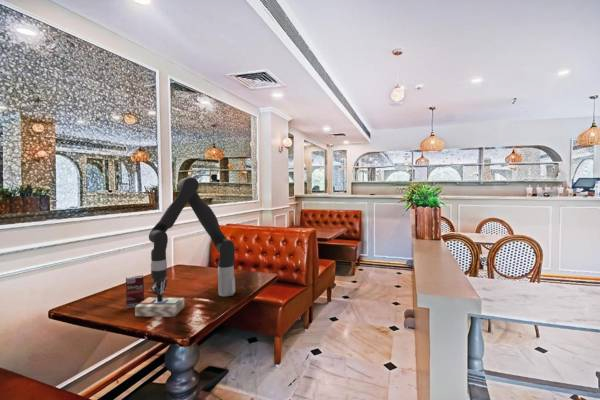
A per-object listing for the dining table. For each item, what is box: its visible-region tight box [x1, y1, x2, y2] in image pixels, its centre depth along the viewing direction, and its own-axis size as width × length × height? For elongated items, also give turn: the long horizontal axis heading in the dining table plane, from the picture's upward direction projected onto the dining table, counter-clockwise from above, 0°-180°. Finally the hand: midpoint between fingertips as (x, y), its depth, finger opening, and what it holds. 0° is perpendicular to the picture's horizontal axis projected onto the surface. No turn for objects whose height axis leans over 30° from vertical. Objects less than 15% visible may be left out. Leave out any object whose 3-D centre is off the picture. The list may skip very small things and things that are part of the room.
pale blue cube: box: [153, 299, 168, 304], centre depth 157 cm, size 5×5×4 cm
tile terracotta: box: [141, 298, 156, 304], centre depth 157 cm, size 5×5×4 cm
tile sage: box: [165, 299, 179, 305], centre depth 156 cm, size 5×5×4 cm
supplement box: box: [125, 274, 145, 309], centre depth 164 cm, size 9×5×16 cm, turn 121°
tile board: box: [134, 297, 185, 318], centre depth 157 cm, size 20×12×5 cm, turn 87°
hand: (160, 300), depth 157 cm, fingers closed
